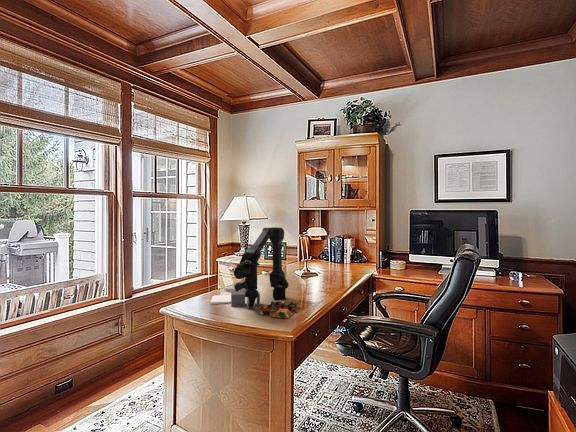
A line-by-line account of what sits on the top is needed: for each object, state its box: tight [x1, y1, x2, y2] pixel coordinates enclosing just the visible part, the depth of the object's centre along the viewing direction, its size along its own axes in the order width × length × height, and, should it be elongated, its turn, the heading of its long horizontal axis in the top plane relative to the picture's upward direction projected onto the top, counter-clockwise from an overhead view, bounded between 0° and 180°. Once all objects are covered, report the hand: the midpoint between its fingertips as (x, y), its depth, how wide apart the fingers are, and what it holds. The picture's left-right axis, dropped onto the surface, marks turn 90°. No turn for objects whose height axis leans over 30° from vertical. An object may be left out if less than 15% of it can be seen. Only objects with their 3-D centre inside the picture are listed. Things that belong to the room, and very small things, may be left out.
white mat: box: [209, 294, 231, 305], centre depth 189 cm, size 12×14×1 cm
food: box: [256, 300, 300, 319], centre depth 169 cm, size 22×19×4 cm
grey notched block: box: [230, 291, 261, 307], centre depth 181 cm, size 14×5×6 cm, turn 97°
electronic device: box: [224, 278, 246, 293], centre depth 210 cm, size 5×10×15 cm
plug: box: [246, 297, 256, 311], centre depth 178 cm, size 4×12×4 cm, turn 7°
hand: (251, 307), depth 171 cm, fingers closed
